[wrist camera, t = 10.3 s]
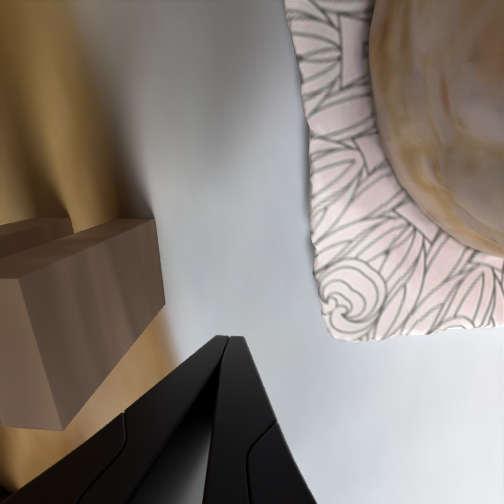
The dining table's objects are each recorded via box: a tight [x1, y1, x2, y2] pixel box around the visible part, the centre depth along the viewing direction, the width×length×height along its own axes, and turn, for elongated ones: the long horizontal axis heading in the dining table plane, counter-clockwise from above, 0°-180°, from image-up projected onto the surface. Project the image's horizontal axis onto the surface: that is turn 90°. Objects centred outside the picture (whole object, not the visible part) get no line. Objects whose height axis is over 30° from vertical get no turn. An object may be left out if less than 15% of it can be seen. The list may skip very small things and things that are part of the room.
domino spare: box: [0, 219, 165, 431], centre depth 11 cm, size 2×5×8 cm, turn 0°
